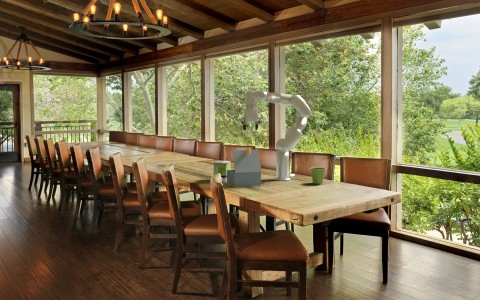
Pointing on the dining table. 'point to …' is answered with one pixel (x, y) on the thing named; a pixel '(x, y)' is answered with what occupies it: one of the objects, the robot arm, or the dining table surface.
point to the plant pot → (317, 175)
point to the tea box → (222, 169)
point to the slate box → (243, 179)
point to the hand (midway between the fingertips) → (250, 130)
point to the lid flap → (246, 161)
